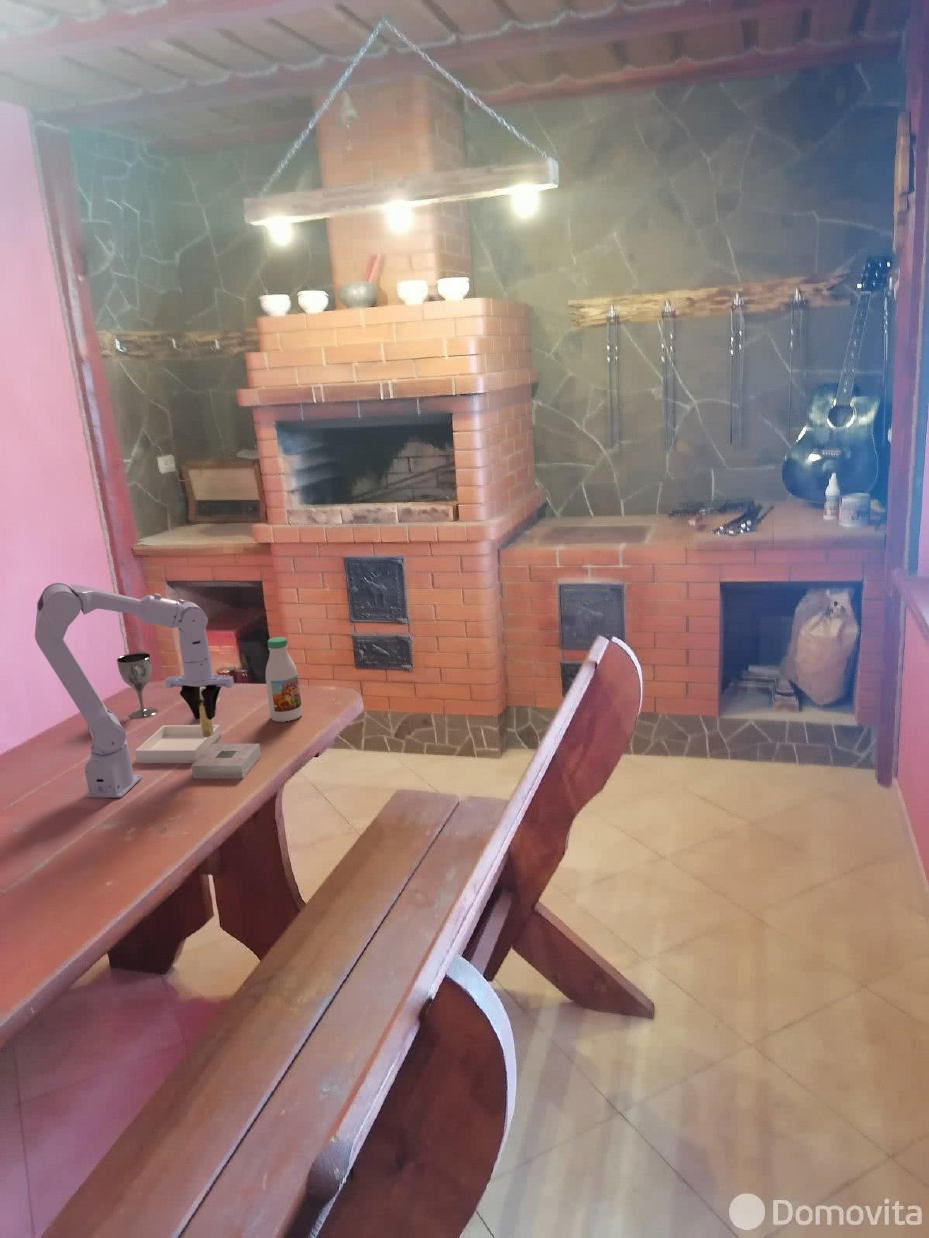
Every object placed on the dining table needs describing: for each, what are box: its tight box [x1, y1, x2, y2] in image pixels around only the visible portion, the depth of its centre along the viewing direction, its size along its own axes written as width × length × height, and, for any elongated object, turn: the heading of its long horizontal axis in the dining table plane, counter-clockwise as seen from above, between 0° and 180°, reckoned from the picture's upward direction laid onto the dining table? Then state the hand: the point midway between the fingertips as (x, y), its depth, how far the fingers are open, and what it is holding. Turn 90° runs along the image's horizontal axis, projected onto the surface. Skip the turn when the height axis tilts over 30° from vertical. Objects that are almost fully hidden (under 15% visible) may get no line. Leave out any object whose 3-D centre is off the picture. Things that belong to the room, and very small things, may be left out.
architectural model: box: [200, 687, 222, 710], centre depth 225 cm, size 3×7×7 cm, turn 176°
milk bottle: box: [265, 636, 303, 723], centre depth 218 cm, size 8×8×20 cm
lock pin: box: [197, 699, 213, 737], centre depth 195 cm, size 2×2×8 cm
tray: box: [134, 724, 222, 764], centre depth 205 cm, size 14×14×3 cm
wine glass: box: [116, 651, 159, 720], centre depth 227 cm, size 8×8×15 cm
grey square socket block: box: [191, 743, 262, 780], centre depth 194 cm, size 11×11×3 cm
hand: (205, 717), depth 195 cm, fingers closed on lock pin, 2 cm apart
